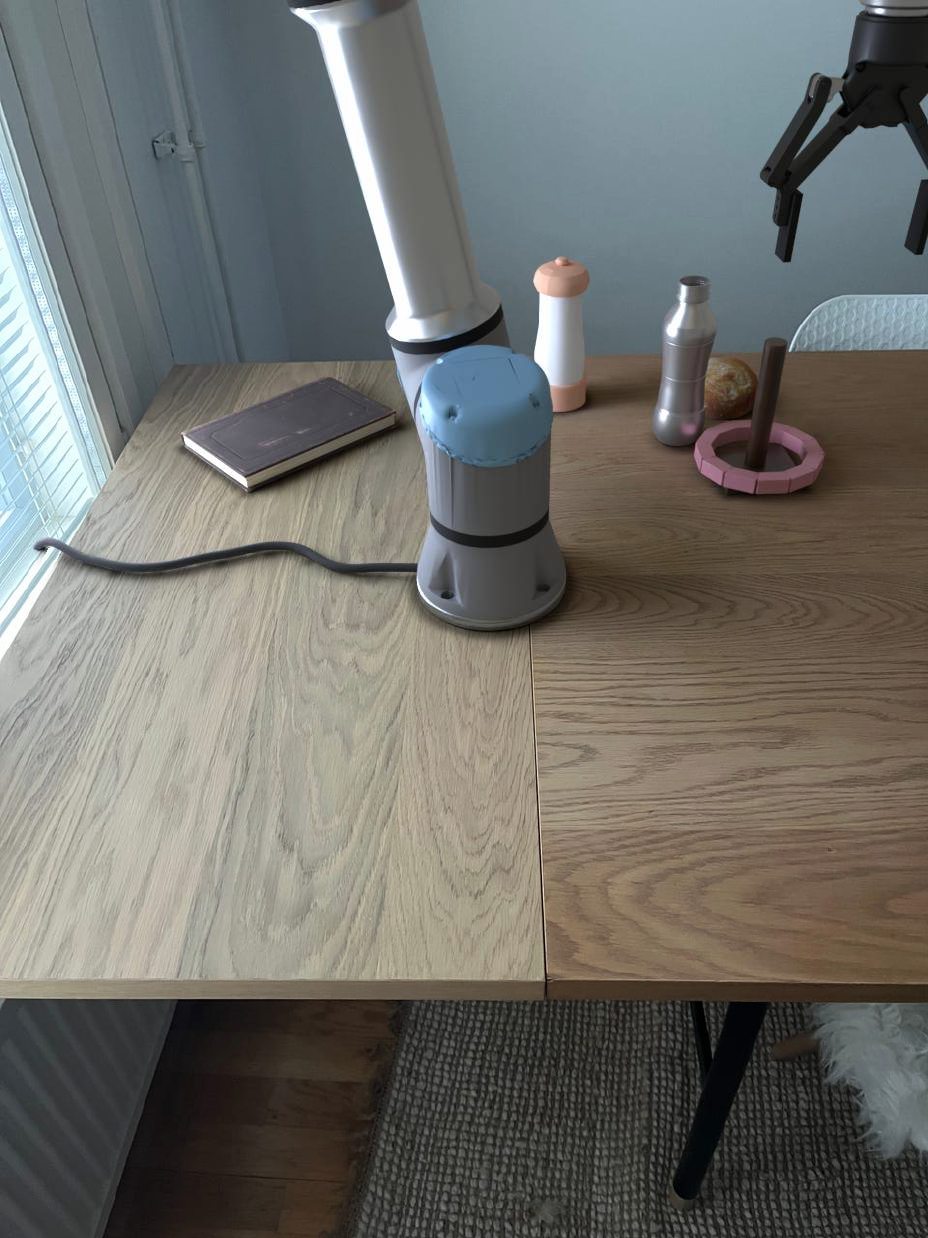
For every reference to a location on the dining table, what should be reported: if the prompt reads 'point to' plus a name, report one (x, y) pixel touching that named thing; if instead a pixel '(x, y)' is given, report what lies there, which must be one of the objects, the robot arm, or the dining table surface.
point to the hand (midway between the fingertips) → (847, 254)
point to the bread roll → (729, 388)
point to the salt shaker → (562, 331)
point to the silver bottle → (685, 363)
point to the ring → (758, 480)
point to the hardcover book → (288, 432)
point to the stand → (762, 420)
